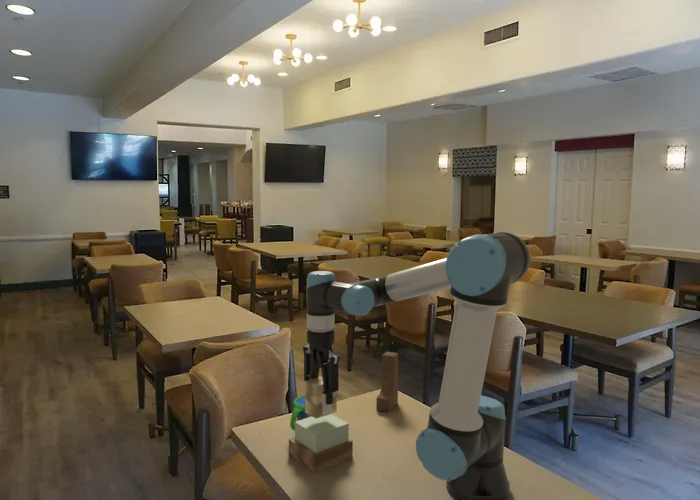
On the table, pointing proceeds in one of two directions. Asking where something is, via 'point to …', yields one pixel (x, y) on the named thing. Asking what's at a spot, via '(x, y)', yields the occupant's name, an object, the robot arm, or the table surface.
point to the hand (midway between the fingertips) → (320, 411)
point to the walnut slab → (320, 455)
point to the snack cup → (298, 411)
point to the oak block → (316, 397)
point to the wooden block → (388, 382)
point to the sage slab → (321, 432)
